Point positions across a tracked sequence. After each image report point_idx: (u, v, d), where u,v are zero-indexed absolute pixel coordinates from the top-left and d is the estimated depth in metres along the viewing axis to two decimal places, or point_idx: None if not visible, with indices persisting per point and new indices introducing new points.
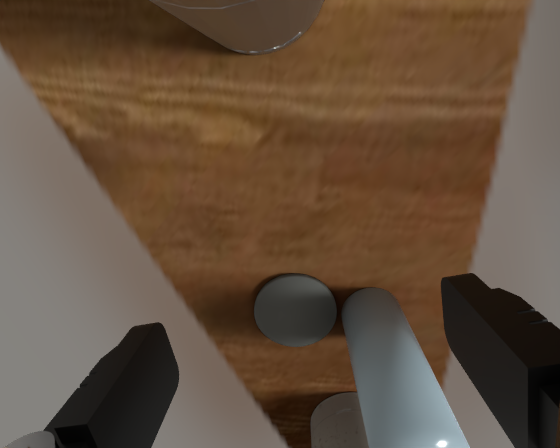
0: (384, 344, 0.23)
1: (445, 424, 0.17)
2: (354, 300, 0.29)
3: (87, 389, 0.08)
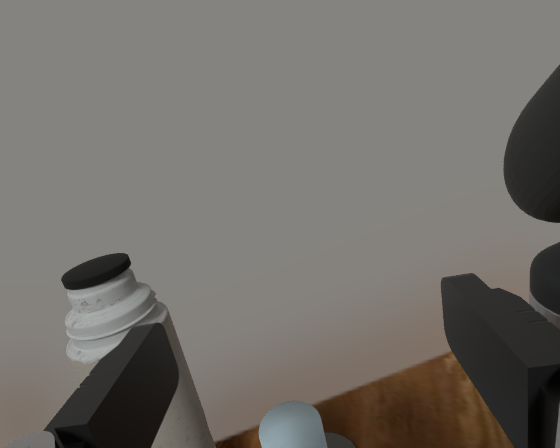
0: None
1: (318, 443, 0.26)
2: None
3: (87, 389, 0.08)
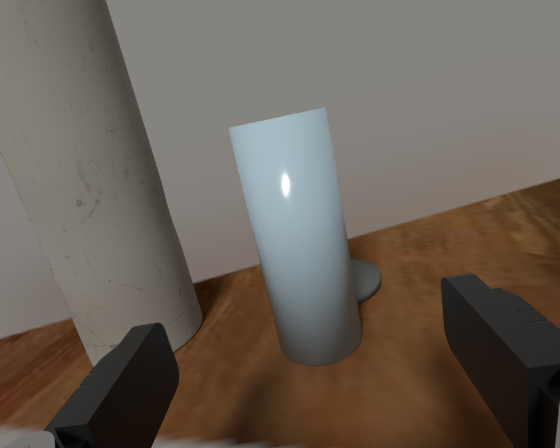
0: None
1: (321, 118, 0.16)
2: None
3: (88, 389, 0.08)
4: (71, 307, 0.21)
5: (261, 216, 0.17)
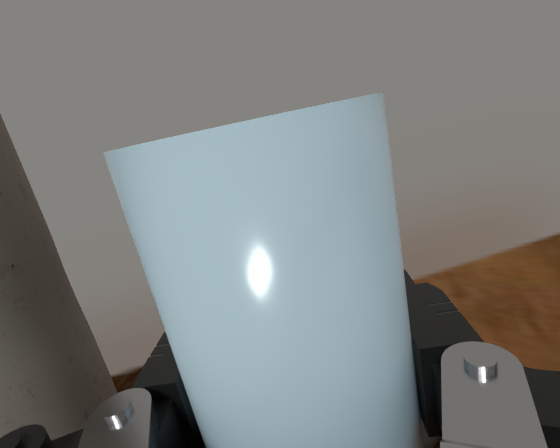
0: None
1: (376, 125, 0.05)
2: None
3: (165, 356, 0.08)
4: None
5: (199, 398, 0.06)
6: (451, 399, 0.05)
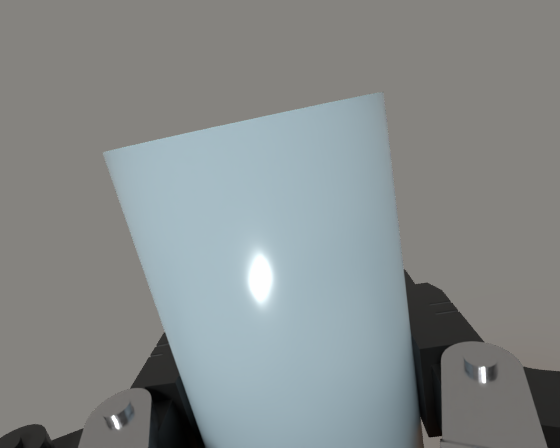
0: None
1: (375, 124, 0.05)
2: None
3: (165, 356, 0.08)
4: None
5: (198, 398, 0.06)
6: (451, 399, 0.05)
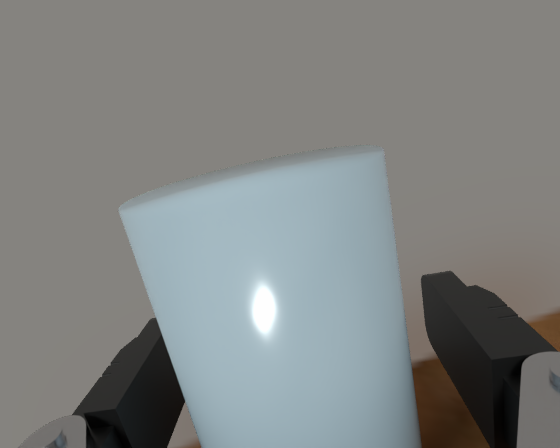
0: None
1: (376, 186, 0.05)
2: None
3: (112, 377, 0.08)
4: None
5: (208, 441, 0.06)
6: (531, 410, 0.05)
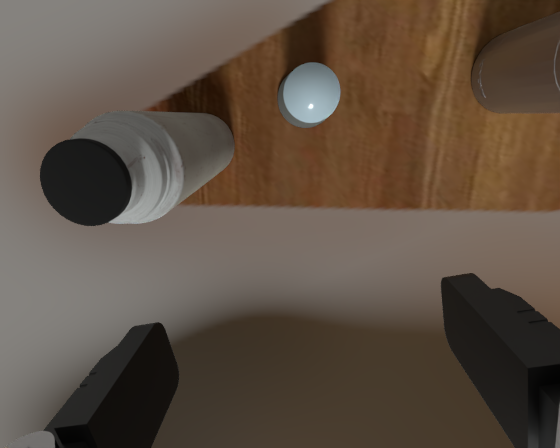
0: None
1: (337, 104, 0.31)
2: None
3: (87, 390, 0.08)
4: None
5: None
6: None
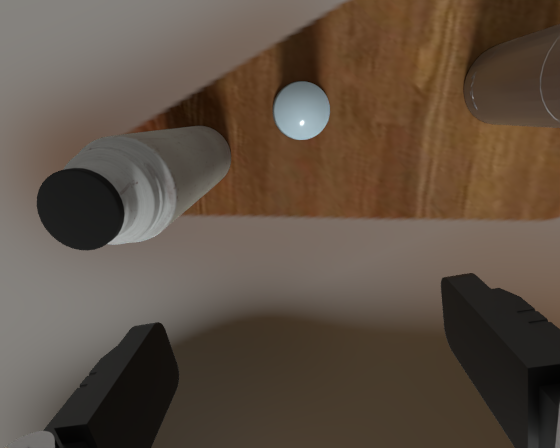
0: None
1: (326, 121, 0.32)
2: None
3: (87, 389, 0.08)
4: None
5: None
6: None
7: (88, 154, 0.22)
